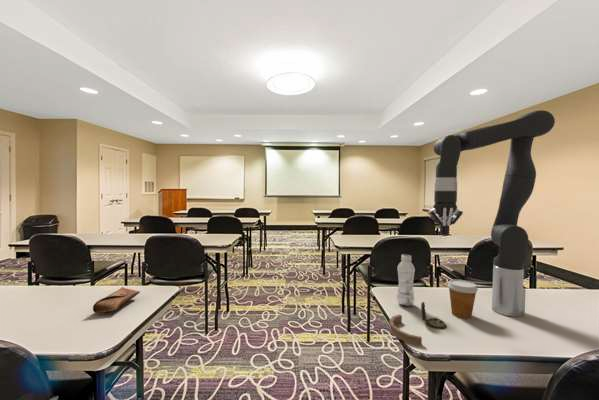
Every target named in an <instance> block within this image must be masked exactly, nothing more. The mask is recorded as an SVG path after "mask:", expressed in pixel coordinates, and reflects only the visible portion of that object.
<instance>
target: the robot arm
mask: <svg viewBox="0 0 599 400" xmlns="http://www.w3.org/2000/svg"><path fill="white" fill-rule="evenodd" d="M555 122H556V119H555V117H554V115H553V114H552V113H551V112H550V111H548V110H543V109H542V110H539V109H538V110H533V111H531V112H528V113H524V114H522V115H520V116H518V117H517V118H516V119H514V120H510V121H506V122H502V123H498V124H497V123H496V124H492V125H490V126H484V127H480V128H475V129H470V130H468V131H465V132H463V133H460V134H456V135H454V134H448V135H446V136H444V137H441V138H438V139H437V140H436V141H435V142H434V145H433V151H434V153H435V154H436V155H437V156H439V157H440V159H439V161H438V162H437V164H436V166H435V182H434V199H433V201H434V205H433V208H432V209H430V210H427V214H428V215H429V217H430V218H431V219H432V220H433V222H434V223H435V224H437V225H439V234H440V236H443V237H448V236H449V234H450V226H451V225H455V224H456V222H457V221H458V220H459V219H460V218H461V216H462V215H463V213H464V211H461V210H459V209H458V206H457V202H458V179H457V176H458V174H457V173H458V171H457V170H458V164H459V160H460V157H461V152H464V151H469V150H475V149H480V148H483V147H487V146H488V147H489V146H491V145H495V144H498V143H500V142H501V143H502V142H505V141H508V140H510V147H509V154H508V157H507V158H508V159H507V162H506V163H507V164H506V168H505V169H506V170H505V173H504V178H503V183H502V189H501V195H500V199H499V204H498V210H497V213H496V215H495V219H494V221H493V225H492V227H491V231H490V238H491V241H492V242H493V243H494V244H495V245H496V246H498V254H497V256H495V257H494V258H493V262H492V263H493V266H492V267H493V268H492V289H491V290H492V295H491V296H492V297H491V309H492V311H494V312H496V313H498V314H501V315H504V316H507V317H514V318H515V317H522V316H523V315H525V314H526V313H525V312H526V291H527V290H526V289H525V288H524V274H525V273H524V269H525V265H526V262H527V259H528V251H529V242H530V241H529V235H528V233H527V231H526V229H524V228H523V227H521V226H519V225H518V221H519V217H520V213H521V211H522V209H523V207H524V206H525V204H526V203H527V202H528V200H529V199H530V197H531V196H532V194H533V191H534V187H535V183H536V178H537V170H536V166H535V163H534V161H533V158H532V146H533V141H534V139H535V138H537V137H541V136H544V135H546V134H548V133H549V132H550V131H552V130H553V128H554V127H555Z"/></svg>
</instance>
